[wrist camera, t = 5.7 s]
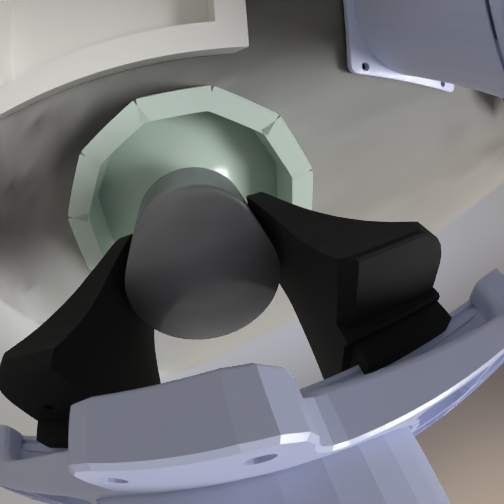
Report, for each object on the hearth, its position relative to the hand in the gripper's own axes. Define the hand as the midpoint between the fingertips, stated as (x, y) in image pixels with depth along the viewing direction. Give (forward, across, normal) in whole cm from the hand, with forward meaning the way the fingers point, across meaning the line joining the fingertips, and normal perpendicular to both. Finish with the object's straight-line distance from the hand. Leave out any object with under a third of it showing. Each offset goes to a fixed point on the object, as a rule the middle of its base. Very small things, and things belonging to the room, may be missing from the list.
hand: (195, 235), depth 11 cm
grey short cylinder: (+1, 0, 0) cm, 1 cm away
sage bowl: (+4, 0, 0) cm, 4 cm away
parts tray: (+4, +1, -13) cm, 14 cm away
